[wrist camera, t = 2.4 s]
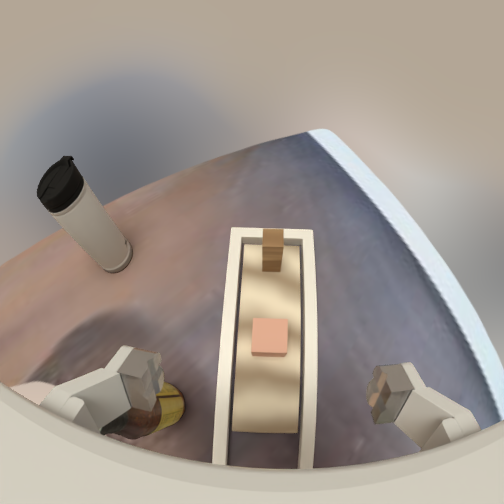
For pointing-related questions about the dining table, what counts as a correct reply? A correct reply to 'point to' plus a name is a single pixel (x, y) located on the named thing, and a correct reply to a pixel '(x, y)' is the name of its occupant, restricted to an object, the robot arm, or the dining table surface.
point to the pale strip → (247, 366)
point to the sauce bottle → (149, 416)
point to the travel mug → (83, 215)
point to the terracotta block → (269, 337)
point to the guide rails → (228, 342)
